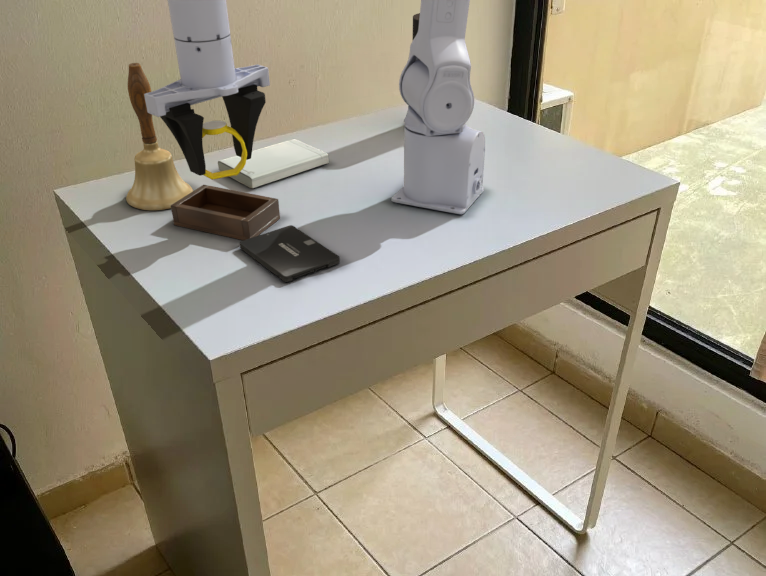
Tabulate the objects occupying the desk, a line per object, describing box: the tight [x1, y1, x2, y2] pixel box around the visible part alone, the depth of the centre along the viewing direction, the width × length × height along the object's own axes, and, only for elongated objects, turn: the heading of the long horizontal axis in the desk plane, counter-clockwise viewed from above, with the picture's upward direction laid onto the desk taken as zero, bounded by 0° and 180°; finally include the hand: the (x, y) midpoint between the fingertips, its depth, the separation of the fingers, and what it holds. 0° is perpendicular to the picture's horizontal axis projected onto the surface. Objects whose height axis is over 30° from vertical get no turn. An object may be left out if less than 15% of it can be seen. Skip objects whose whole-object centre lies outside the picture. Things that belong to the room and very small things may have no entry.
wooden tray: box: [170, 184, 281, 241], centre depth 91 cm, size 11×7×2 cm, turn 65°
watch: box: [202, 119, 247, 181], centre depth 86 cm, size 6×3×6 cm, turn 106°
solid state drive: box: [239, 225, 341, 283], centre depth 84 cm, size 7×10×1 cm
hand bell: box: [125, 62, 194, 211], centre depth 92 cm, size 8×8×16 cm
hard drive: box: [217, 138, 330, 189], centre depth 104 cm, size 2×8×12 cm
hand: (221, 164), depth 87 cm, fingers closed on watch, 6 cm apart
